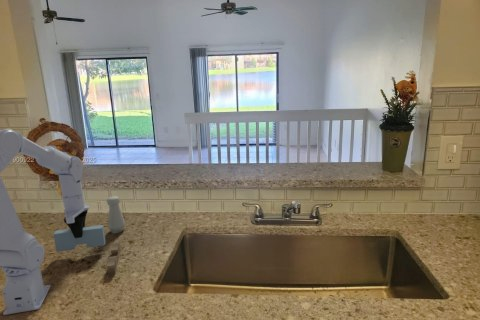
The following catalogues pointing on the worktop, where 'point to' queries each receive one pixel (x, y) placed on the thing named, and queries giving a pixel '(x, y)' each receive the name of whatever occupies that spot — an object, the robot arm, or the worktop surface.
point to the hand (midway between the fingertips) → (79, 235)
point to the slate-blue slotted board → (90, 237)
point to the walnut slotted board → (113, 258)
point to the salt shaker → (115, 215)
